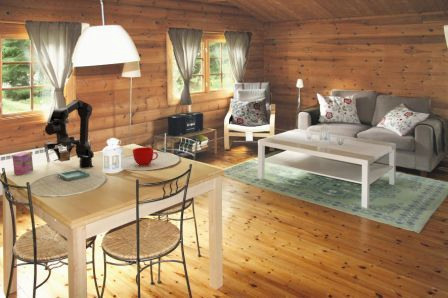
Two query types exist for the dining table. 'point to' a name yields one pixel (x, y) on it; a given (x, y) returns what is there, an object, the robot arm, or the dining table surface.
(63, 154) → the cube
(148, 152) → the ceramic cup
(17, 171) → the box
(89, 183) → the dining table surface
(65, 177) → the tray
